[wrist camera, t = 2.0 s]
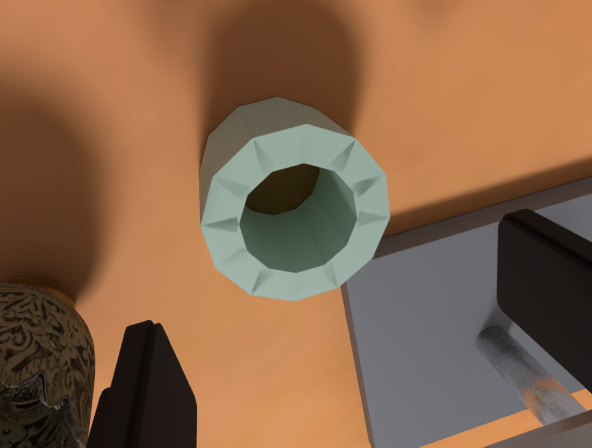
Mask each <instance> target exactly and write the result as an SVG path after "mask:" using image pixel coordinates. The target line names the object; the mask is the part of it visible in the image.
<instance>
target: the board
mask: <svg viewBox="0 0 592 448" xmlns="http://www.w3.org/2000/svg"><path fill="white" fill-rule="evenodd" d="M525 208H528V209H531V210H532V211H534V212H536V213H538V214H540V215H542V216H544V217H546V218H547V219H549V220H551V221H553V222H555V223H557V224H559V225H561V226H562V227H564V228H566V229H568V230H570V231H572V232H574V233H576V234H578V235H579V236H581V237H583V238H585V239H587V240H589V241H591V242H592V176H591V177H588V178H584V179H581V180H577V181H574V182H571V183H567V184H564V185H561V186H557V187H554V188H551V189H547V190H544V191H540V192H537V193H534V194H530V195H527V196H524V197H520V198H517V199H514V200H510V201H507V202H503V203H500V204H497V205H493V206H490V207H487V208H483V209H480V210H477V211H473V212H470V213H466V214H463V215H460V216H456V217H453V218H450V219H446V220H443V221H440V222H436V223H433V224H429V225H426V226H423V227H419V228H416V229H413V230H409V231H406V232H403V233H399V234H396V235H392V236H389V237H386V238H382V239H381V240H380V242H379V244H378V246H377V249H376V251H375V253H374V255H373V258H372V259H371V260H370V261H369V262H367V263H366V264H365V265H364V266H363V267H362V268H360V269H359V270H358V271H357V272H356V273H355V274H353V275H352V276H351V277H350V278H349V279H348V280H346V281H345V282H344V283H343V284H342V285H341V291H342V296H343V302H344V307H345V313H346V318H347V324H348V329H349V334H350V340H351V345H352V351H353V356H354V361H355V367H356V372H357V378H358V383H359V389H360V394H361V399H362V405H363V410H364V416H365V421H366V426H367V432H368V437H369V442H370V445H371V447H372V448H419V447H421V446H424V445H427V444H430V443H433V442H436V441H438V440H441V439H444V438H447V437H450V436H452V435H455V434H458V433H461V432H464V431H467V430H469V429H472V428H475V427H478V426H481V425H484V424H486V423H489V422H492V421H495V420H498V419H501V418H503V417H506V416H509V415H512V414H515V413H517V412H520V411H523V410H526V409H528V408H527V407H526V406H525V404H524V403H523V402H522V401H521V400H520V399H519V397H518V396H517V395H516V394H515V393H514V391H513V390H512V389H511V388H510V387H509V386H508V384H507V383H506V382H505V381H504V380H503V379H502V377H501V376H500V375H499V374H498V373H497V372H496V370H495V369H494V368H493V367H492V366H491V365H490V363H489V362H488V361H487V360H486V359H485V358H484V356H483V355H482V354H481V353H480V352H479V351H478V349H477V348H476V345H475V343H476V339H477V337H478V336H479V334H480V333H481V332H482V331H483V330H485V329H486V328H488V327H491V326H494V325H500V326H503V327H504V328H505V329H506V330H507V331H508V332H509V333H510V334H511V335H512V336H513V337H514V338H515V339H516V340H517V341H518V342H519V343H520V344H521V345H522V346H523V347H524V348H525V349H526V350H527V351H528V352H529V353H530V354H531V355H532V356H533V357H534V358H535V359H536V360H537V361H538V362H539V363H540V364H541V365H542V366H543V367H544V368H545V369H546V370H547V371H548V372H549V373H550V374H551V375H552V376H553V377H554V378H555V379H556V380H557V381H558V382H559V383H560V384H561V385H562V386H563V387H564V388H565V389H566V390H567V391H568V392H569V393H570V394H571V393H574V392H577V391H580V390H582V389H585V387H584V386H583V385H582V384H581V383H580V382H578V381H577V380H576V379H575V378H574V377H573V376H572V375H571V374H570V373H569V372H568V371H567V370H565V369H564V368H563V367H562V366H561V365H560V364H559V363H558V362H557V361H556V360H555V359H553V358H552V357H551V356H550V355H549V354H548V353H547V352H546V351H545V350H544V349H543V348H542V347H540V346H539V345H538V344H537V343H536V342H535V341H534V340H533V339H532V338H531V337H530V336H529V335H527V334H526V333H525V332H524V331H523V330H522V329H521V328H520V327H519V326H518V325H517V324H515V323H514V322H513V321H512V320H511V319H510V318H509V317H508V316H507V315H506V314H505V313H504V312H503V311H502V310H501V309H500V307H499V305H498V303H497V251H498V224H499V222H500V221H502V218H503V216H504V215H505V214H507V213H511V212H514V211H518V210H521V209H525Z"/></svg>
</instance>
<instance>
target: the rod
mask: <svg viewBox="0 0 592 448" xmlns="http://www.w3.org/2000/svg"><path fill="white" fill-rule="evenodd" d="M475 345H476V348H477V349H478V351H479V352H480V353H481V354H482V355H483V356H484V358H485V359H486V360H487V361H488V362H489V363H490V365H491V366H492V367H493V368H494V369H495V370H496V372H497V373H498V374H499V375H500V376H501V377H502V379H503V380H504V381H505V382H506V383H507V384H508V386H509V387H510V388H511V389H512V390H513V391H514V393H515V394H516V395H517V396H518V397H519V399H520V400H521V401H522V402H523V403H524V404H525V406H526V407H527V408H528V409H529V410H530V411H531V413H532V414H533V415H534V416H535V417H536V418H537V420H538V421H539V422H540V423H541V424H542V425H543V426H546V425H549V424H551V423H554V422H557V421H560V420H563V419H566V418H569V417H572V416H574V415H577V414H580V413H583V412H586V411H587V410H586V409H585V408H584V407H583V406H582V405H581V404H580V403H579V402H578V401H577V400H576V399H575V398H574V397H573V396H572V395H571V394H570V393H569V392H568V391H567V390H566V389H565V388H564V387H563V386H562V385H561V384H560V383H559V382H558V381H557V380H556V379H555V378H554V377H553V376H552V375H551V374H550V373H549V372H548V371H547V370H546V369H545V368H544V367H543V366H542V365H541V364H540V363H539V362H538V361H537V360H536V359H535V358H534V357H533V356H532V355H531V354H530V353H529V352H528V351H527V350H526V349H525V348H524V347H523V346H522V345H521V344H520V343H519V342H518V341H517V340H516V339H515V338H514V337H513V336H512V335H511V334H510V333H509V332H508V331H507V330H506V329H505V328H504V327H503V326H500V325H494V326H491V327H488V328H486V329H485V330H483V331H482V332H481V333H480V334H479V336H478V337H477V339H476V343H475Z"/></svg>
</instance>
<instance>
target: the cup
mask: <svg viewBox="0 0 592 448" xmlns="http://www.w3.org/2000/svg"><path fill="white" fill-rule="evenodd" d="M94 380H95V351H94V344H93V340H92V337H91V334H90V332H89V329H88V327H87V325H86V323H85V321H84V320H83V319H82V317H81V316H80V315H79V314H78V312H77V311H76V310H75V307H74V303H73V301H72V299H71V297H70V295H69V294H68V293H67V292H66V290H65V289H63V288H62V287H61V286H60V285H58V284H57V283H55V282H53V281H51V280H48V279H45V278H41V277H35V276H21V277H15V278H12V279H9V280H6V281H3V282H1V283H0V448H86V444H87V441H88V434H89V426H90V417H91V409H92V400H93V391H94Z"/></svg>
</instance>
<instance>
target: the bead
mask: <svg viewBox="0 0 592 448" xmlns="http://www.w3.org/2000/svg"><path fill="white" fill-rule="evenodd" d="M303 163H306V164H310V165H313V166H317V167H319V172H320V173H319V176H318V179H317V181H316V184H315V187H314V190H313V193H312V194H311V195H310V196H309V197H308V198H307V199H306V200H305V201H304V202H303V203H301V204H300V205H299V206H298V207H297V208H296V209H294V210H290V211H287V212H283V213H280V214H276V215H270V214H265V213H260V212H255V211H251V210H250V209H249V208H248V207H247V206H246V205H245V202H246V199H247V195H248V194H249V193H250V192H251V191H252V190H253V189H254V188H255V187H256V186H257V185H259V184H260V183H261V182H262V181H263V180H264V179H265V178H266V177H267V176H268V175H269V174H270V173H271V172H273V171H277V170H281V169H284V168H288V167H292V166H295V165H299V164H303ZM199 196H200V227H201V230H202V232H203V235H204V238H205V241H206V243H207V246H208V249H209V252H210V255H211V257H212V260H213V263H214V266H215V268H216V269H217V270H218V271H219V272H221V273H222V274H223V275H225V276H226V277H227V278H229V279H230V280H231V281H233V282H234V283H235V284H237V285H238V286H239V287H241V288H242V289H243V290H245V291H246V292H247V293H249V294H250V295H254V296H261V297H268V298H276V299H283V300H290V301H297V300H300V299H303V298H307V297H310V296H313V295H316V294H320V293H323V292H326V291H329V290H333V289H336V288H338V287H340V286H341V285H342V284H343V283H344V282H345V281H346V280H348V279H349V278H350V277H351V276H352V275H353V274H355V273H356V272H357V271H358V270H359V269H360V268H362V267H363V266H364V265H365V264H366V263H367V262H369V261H370V260H371V259H372V258H373V255H374V253H375V251H376V249H377V246H378V244H379V242H380V240H381V237H382V235H383V233H384V231H385V228H386V226H387V224H388V222H389V219H390V211H389V201H388V191H387V181H386V174H385V172H384V171H383V170H382V169H381V168H380V166H379V165H378V164H377V163H376V162H375V160H374V159H373V158H372V157H371V156H370V154H369V153H368V152H367V151H366V149H365V148H364V147H363V146H362V145H361V143H360V142H359V141H358V140H357V139H356V138H355V137H354V136H352V135H351V134H350V133H348V132H347V131H346V130H344V129H343V128H342V127H340V126H339V125H338V124H336V123H335V122H333V121H332V120H331V119H329V118H328V117H327V116H325V115H324V114H323V113H321V112H320V111H319V110H317V109H316V108H313V107H310V106H307V105H303V104H300V103H297V102H294V101H290V100H287V99H284V98H281V97H274V98H271V99H267V100H263V101H259V102H255V103H251V104H247V105H243V106H239V107H237V108H236V109H235V110H234V111H233V112H232V113H231V114H230V115H229V116H228V117H227V118H226V119H225V120H224V121H223V122H222V123H221V124H220V125H219V126H218V127H217V128H216V129H215V130H214V131H213V132H212V133H211V134H210V135H209V136H208V139H207V143H206V147H205V151H204V155H203V160H202V164H201V168H200V172H199Z"/></svg>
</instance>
